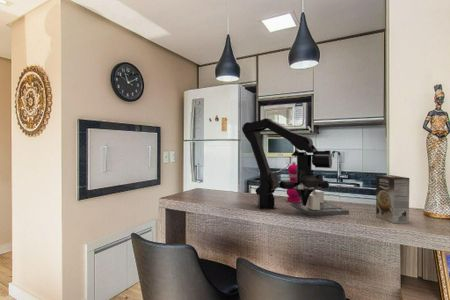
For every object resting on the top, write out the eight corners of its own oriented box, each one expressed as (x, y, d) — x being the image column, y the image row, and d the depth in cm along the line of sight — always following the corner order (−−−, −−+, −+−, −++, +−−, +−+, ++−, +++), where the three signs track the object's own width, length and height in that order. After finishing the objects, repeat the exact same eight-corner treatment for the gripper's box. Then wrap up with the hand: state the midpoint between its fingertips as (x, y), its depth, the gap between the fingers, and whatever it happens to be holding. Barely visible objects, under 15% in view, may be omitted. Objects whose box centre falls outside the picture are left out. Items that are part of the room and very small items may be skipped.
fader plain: (317, 203, 113) (317, 191, 113) (312, 200, 118) (312, 190, 118) (323, 202, 113) (323, 191, 113) (318, 200, 118) (318, 189, 118)
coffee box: (375, 216, 97) (375, 174, 97) (390, 216, 97) (390, 174, 97) (392, 223, 88) (392, 177, 88) (410, 223, 88) (410, 177, 88)
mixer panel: (308, 215, 98) (308, 211, 98) (290, 204, 118) (290, 201, 117) (349, 214, 100) (349, 210, 100) (324, 203, 119) (324, 200, 119)
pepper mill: (302, 203, 121) (302, 161, 121) (286, 202, 123) (286, 161, 123) (300, 200, 129) (300, 160, 128) (286, 199, 130) (286, 160, 130)
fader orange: (312, 209, 100) (312, 197, 100) (307, 207, 105) (307, 195, 105) (320, 209, 100) (320, 197, 100) (314, 206, 105) (314, 194, 105)
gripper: (289, 168, 93) (289, 211, 93) (336, 168, 95) (336, 209, 95) (279, 166, 104) (279, 204, 104) (322, 166, 106) (322, 203, 106)
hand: (304, 205), depth 102 cm, fingers closed
